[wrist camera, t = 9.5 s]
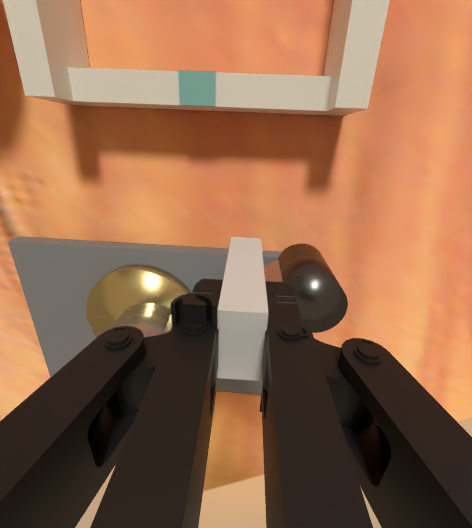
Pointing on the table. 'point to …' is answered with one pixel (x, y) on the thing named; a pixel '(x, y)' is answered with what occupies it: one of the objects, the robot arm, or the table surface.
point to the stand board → (88, 274)
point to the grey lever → (170, 287)
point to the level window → (193, 82)
